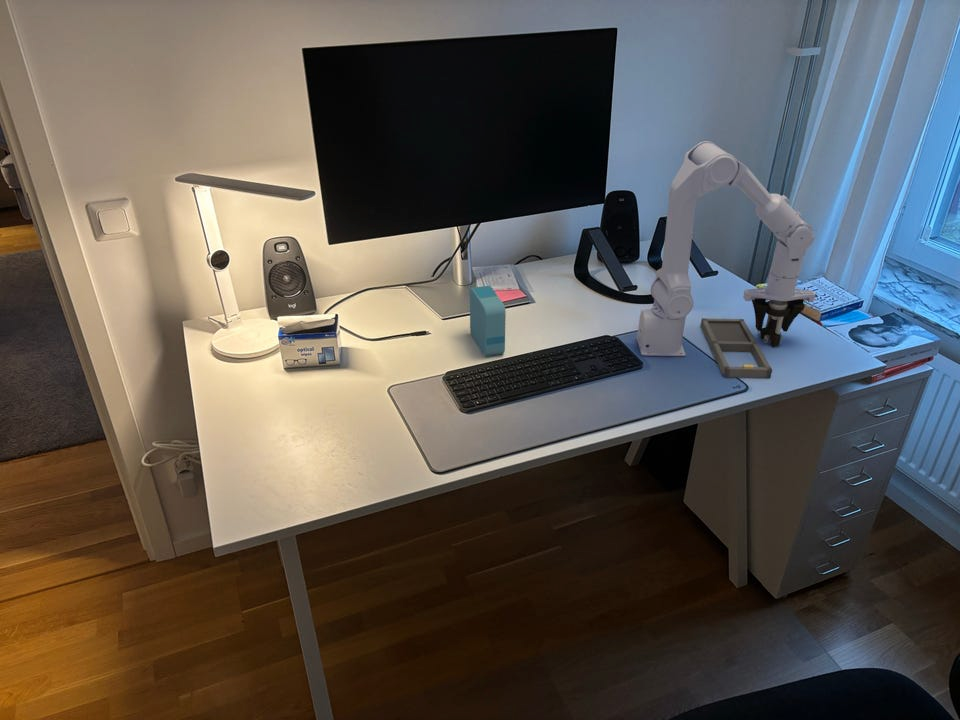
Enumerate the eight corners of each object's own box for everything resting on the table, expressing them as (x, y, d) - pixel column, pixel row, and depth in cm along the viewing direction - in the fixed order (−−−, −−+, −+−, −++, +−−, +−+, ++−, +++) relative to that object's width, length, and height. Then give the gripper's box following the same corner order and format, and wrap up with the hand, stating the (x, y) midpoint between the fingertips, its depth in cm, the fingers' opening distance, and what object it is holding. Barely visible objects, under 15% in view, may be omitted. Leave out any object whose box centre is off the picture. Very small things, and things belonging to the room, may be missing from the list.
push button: (748, 336, 166) (756, 296, 161) (767, 331, 168) (775, 291, 163) (769, 349, 161) (777, 309, 156) (788, 344, 163) (797, 304, 157)
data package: (505, 356, 159) (506, 306, 152) (485, 359, 158) (485, 309, 151) (488, 330, 168) (489, 282, 162) (469, 333, 167) (469, 285, 161)
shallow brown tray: (723, 377, 151) (725, 366, 150) (700, 326, 170) (702, 316, 169) (770, 378, 151) (772, 367, 150) (741, 326, 170) (743, 316, 169)
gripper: (812, 265, 159) (798, 321, 166) (744, 264, 159) (733, 319, 167) (824, 279, 153) (808, 336, 160) (753, 278, 153) (741, 335, 160)
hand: (771, 329), depth 163 cm, fingers closed on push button, 5 cm apart
